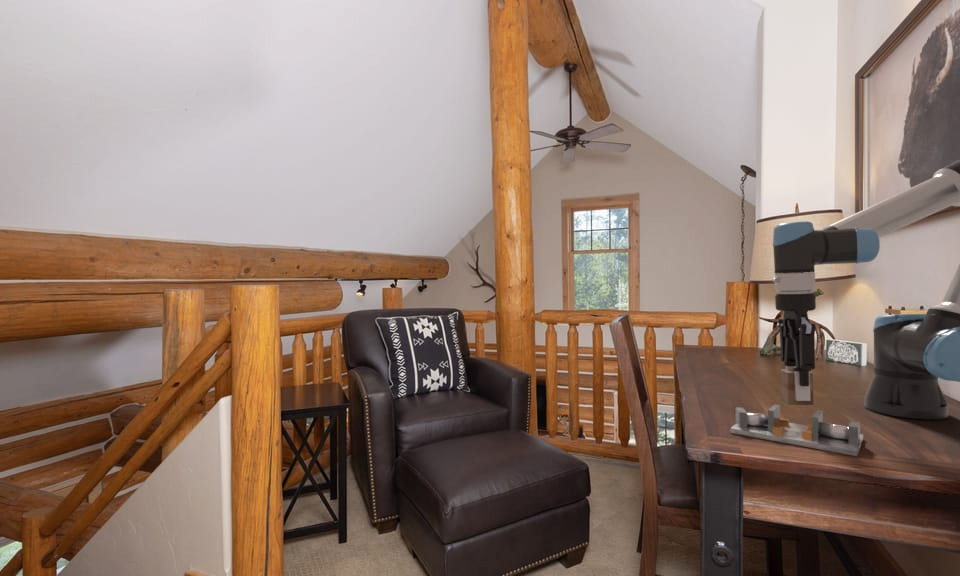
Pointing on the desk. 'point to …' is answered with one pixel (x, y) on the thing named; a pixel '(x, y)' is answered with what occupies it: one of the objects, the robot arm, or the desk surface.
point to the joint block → (792, 388)
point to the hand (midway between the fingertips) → (798, 397)
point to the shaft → (750, 419)
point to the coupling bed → (807, 433)
